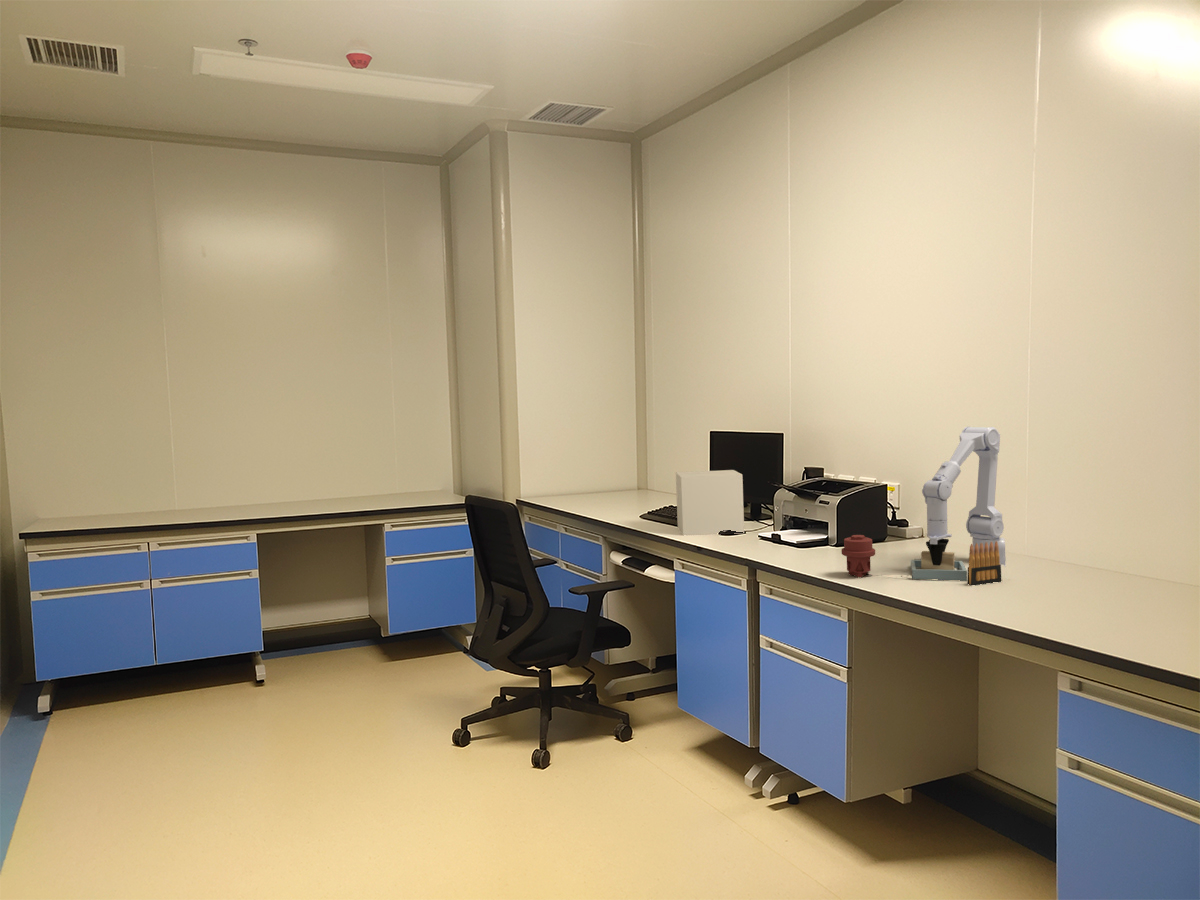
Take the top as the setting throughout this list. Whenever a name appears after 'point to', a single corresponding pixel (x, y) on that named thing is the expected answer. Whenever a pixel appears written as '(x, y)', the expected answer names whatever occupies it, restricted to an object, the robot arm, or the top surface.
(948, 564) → the wooden block
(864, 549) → the mechanical component
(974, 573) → the ammunition clip
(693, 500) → the cube
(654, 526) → the top surface
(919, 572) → the bin
